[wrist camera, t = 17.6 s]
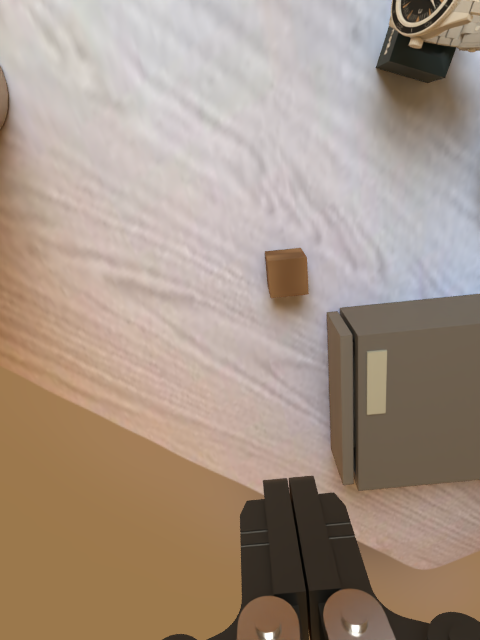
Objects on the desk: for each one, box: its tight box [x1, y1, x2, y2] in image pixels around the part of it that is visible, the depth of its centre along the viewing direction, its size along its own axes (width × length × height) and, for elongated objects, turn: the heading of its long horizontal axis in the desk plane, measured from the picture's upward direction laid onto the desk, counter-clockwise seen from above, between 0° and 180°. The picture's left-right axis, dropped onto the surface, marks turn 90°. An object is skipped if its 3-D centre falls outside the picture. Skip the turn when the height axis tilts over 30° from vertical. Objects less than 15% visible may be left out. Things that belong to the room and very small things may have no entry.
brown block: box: [265, 248, 308, 298], centre depth 39 cm, size 3×3×4 cm
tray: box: [327, 311, 356, 485], centre depth 42 cm, size 18×16×6 cm
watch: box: [376, 0, 480, 83], centre depth 29 cm, size 6×8×11 cm
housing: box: [340, 294, 480, 491], centre depth 42 cm, size 18×16×7 cm
